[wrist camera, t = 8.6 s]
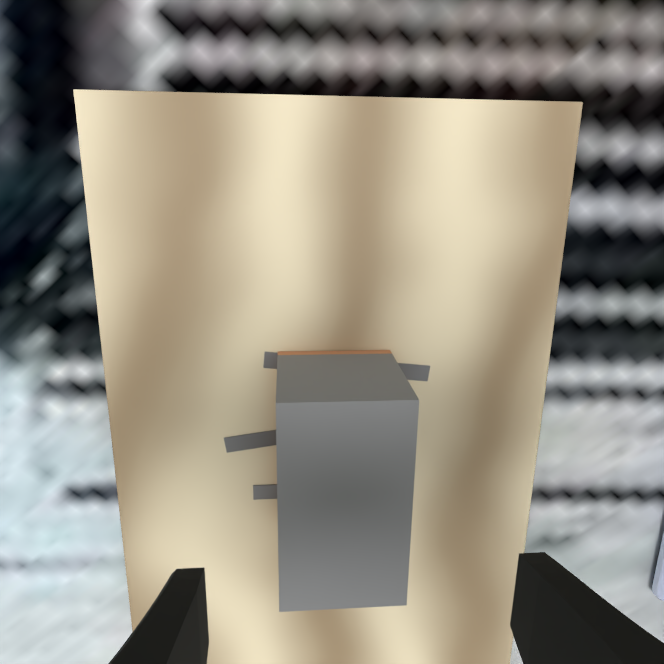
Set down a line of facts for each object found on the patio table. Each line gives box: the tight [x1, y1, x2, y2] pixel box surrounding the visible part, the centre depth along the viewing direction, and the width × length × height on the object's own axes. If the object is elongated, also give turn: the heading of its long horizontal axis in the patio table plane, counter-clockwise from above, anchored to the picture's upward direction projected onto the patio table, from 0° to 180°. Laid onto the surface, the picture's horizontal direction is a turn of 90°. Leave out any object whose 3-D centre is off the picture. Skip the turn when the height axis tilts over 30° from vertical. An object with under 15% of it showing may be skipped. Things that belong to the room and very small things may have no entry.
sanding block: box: [276, 350, 419, 612], centre depth 18 cm, size 4×7×4 cm, turn 179°
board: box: [73, 89, 583, 664], centre depth 22 cm, size 16×26×2 cm, turn 179°
